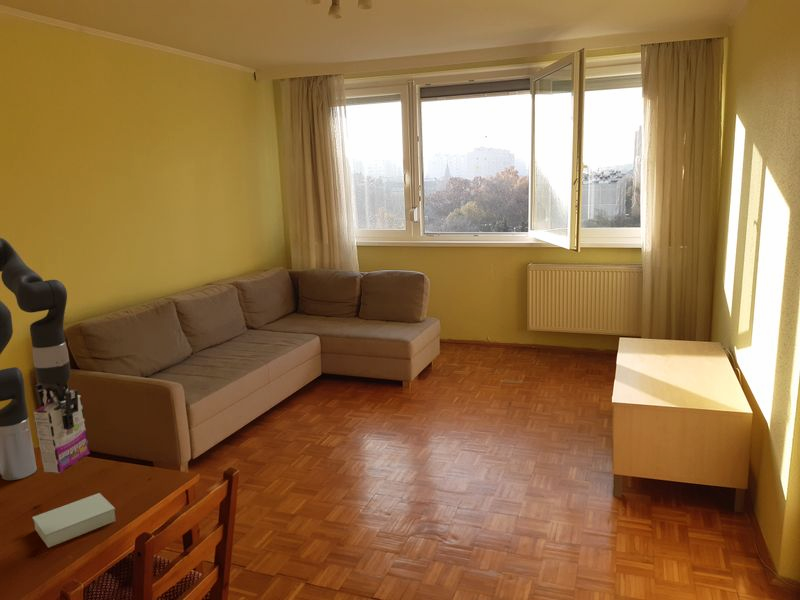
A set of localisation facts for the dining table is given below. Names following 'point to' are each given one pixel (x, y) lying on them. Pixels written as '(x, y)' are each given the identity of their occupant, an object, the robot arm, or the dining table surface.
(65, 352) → the robot arm
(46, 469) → the candy bar box
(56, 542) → the keepsake box
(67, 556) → the dining table surface
